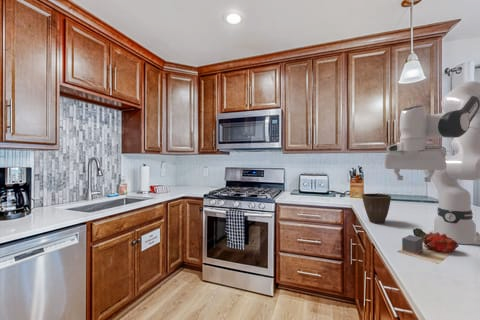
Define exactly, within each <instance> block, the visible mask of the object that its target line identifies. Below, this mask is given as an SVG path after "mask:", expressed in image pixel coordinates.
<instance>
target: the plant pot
mask: <svg viewBox="0 0 480 320" xmlns="http://www.w3.org/2000/svg"><path fill="white" fill-rule="evenodd" d="M361 196H362V197H361V198H362V201H363V207H364V209H365V214H366V216H367V219H368V221H369V223H372V224H377V225H378V224H379V225H382V224H385V221H386V219H387V217H388V214H389V211H390V206H391V200H392V195H389V194H385V193H384V194H383V193H364V194H362V195H361Z"/></svg>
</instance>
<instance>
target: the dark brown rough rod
mask: <svg viewBox="0 0 480 320" xmlns="http://www.w3.org/2000/svg"><path fill="white" fill-rule="evenodd" d="M412 233H413V236H417V237H421V238H423V236H426V234H427V233H426V232H425V231H423V229H422V228H415V229H413V231H412Z"/></svg>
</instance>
